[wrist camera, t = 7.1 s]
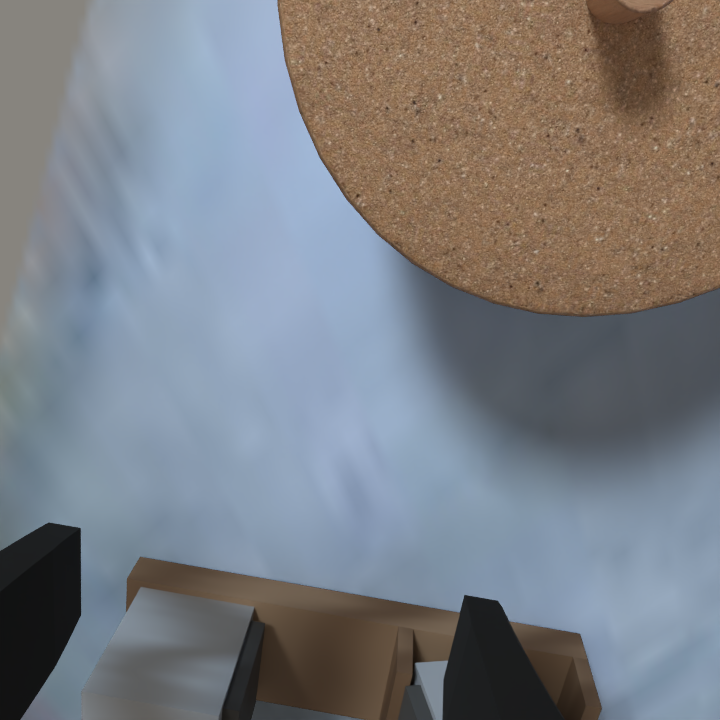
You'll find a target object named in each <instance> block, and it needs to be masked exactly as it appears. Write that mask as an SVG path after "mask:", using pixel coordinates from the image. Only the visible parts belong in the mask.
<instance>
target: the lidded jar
mask: <svg viewBox="0 0 720 720" xmlns="http://www.w3.org/2000/svg"><path fill="white" fill-rule="evenodd" d="M278 12H279V19H280V27H281V35H282V42H283V50H284V57H285V62H286V66H287V69H288V73H289V77H290V80H291V84H292V87H293V91H294V94H295V98H296V101H297V105H298V109H299V112H300V114H301V116H302V119H303V121H304V123H305V125H306V128H307V130H308V132H309V134H310V137H311V139H312V141H313V143H314V146H315V148H316V150H317V152H318V155H319V157H320V159H321V160H322V162H323V163H324V165H325V167H326V168H327V170H328V171H329V173H330V174H331V176H332V177H333V179H334V181H335V182H336V184H337V185H338V187H339V188H340V190H341V192H342V193H343V195H344V196H345V198H346V199H347V200H348V202H349V203H350V204H351V205H352V206H353V207H354V208H355V209H356V211H357V212H358V213H359V214H360V215H361V216H362V217H363V219H364V220H365V221H366V222H367V223H368V224H369V225H370V227H371V228H372V229H373V230H374V231H375V232H376V233H377V234H378V235H379V236H380V237H381V238H382V239H384V240H385V241H386V242H387V243H388V244H390V245H391V246H392V247H393V248H394V249H396V250H397V251H398V252H399V253H400V254H402V255H403V256H404V257H405V258H407V259H408V260H409V261H410V262H411V263H413V264H414V265H416V266H417V267H419V268H421V269H423V270H424V271H426V272H428V273H429V274H431V275H433V276H434V277H436V278H438V279H439V280H441V281H443V282H444V283H446V284H448V285H450V286H451V287H453V288H456V289H458V290H461V291H464V292H466V293H469V294H471V295H474V296H476V297H479V298H481V299H484V300H486V301H489V302H491V303H494V304H498V305H503V306H507V307H511V308H516V309H520V310H525V311H529V312H533V313H538V314H551V315H565V316H579V317H589V316H602V315H616V314H629V313H635V312H640V311H644V310H649V309H653V308H658V307H662V306H667V305H671V304H676V303H680V302H683V301H685V300H688V299H691V298H693V297H696V296H699V295H702V294H704V293H707V292H710V291H712V290H715V289H718V288H720V0H278Z"/></svg>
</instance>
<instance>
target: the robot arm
mask: <svg viewBox="0 0 720 720" xmlns="http://www.w3.org/2000/svg"><path fill="white" fill-rule="evenodd" d="M80 616H81V528H77V527H71V526H65V525H60V524H54V523H47V524H45V525H43V526H42V527H40V528H38V529H36V530H35V531H33V532H31V533H30V534H28V535H26V536H24V537H23V538H21V539H19V540H18V541H16V542H14V543H13V544H11V545H10V546H8V547H6V548H5V549H3V550H1V551H0V720H20V719H21V718H22V716H23V715H24V713H25V712H26V710H27V709H28V707H29V706H30V704H31V703H32V701H33V700H34V698H35V697H36V695H37V694H38V692H39V691H40V689H41V688H42V686H43V685H44V683H45V682H46V680H47V678H48V677H49V675H50V674H51V672H52V671H53V669H54V668H55V666H56V664H57V662H58V660H59V658H60V656H61V654H62V652H63V651H64V649H65V647H66V645H67V643H68V641H69V639H70V637H71V635H72V633H73V630H74V628H75V626H76V624H77V622H78V620H79V618H80ZM442 720H565V719H564V717H563V716H562V714H561V713H560V711H559V709H558V708H557V706H556V705H555V703H554V701H553V700H552V698H551V696H550V695H549V693H548V691H547V690H546V688H545V686H544V684H543V683H542V681H541V679H540V678H539V676H538V674H537V673H536V671H535V669H534V667H533V666H532V664H531V662H530V660H529V658H528V656H527V655H526V653H525V651H524V649H523V647H522V645H521V643H520V642H519V640H518V638H517V636H516V634H515V632H514V630H513V628H512V626H511V624H510V622H509V620H508V618H507V616H506V614H505V612H504V610H503V608H502V606H501V605H500V603H499V602H498V601H496V600H490V599H484V598H478V597H473V596H467V595H464V599H463V603H462V607H461V611H460V615H459V619H458V623H457V627H456V631H455V635H454V639H453V643H452V647H451V651H450V655H449V659H448V663H447V667H446V671H445V675H444V679H443V716H442Z"/></svg>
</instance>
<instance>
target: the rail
mask: <svg viewBox="0 0 720 720" xmlns="http://www.w3.org/2000/svg"><path fill="white" fill-rule="evenodd" d="M459 615H460V613H458V612H452V611H446V610H441V609H435V608H429V607H423V606H418V605H412V604H406V603H401V602H395V601H389V600H384V599H378V598H372V597H366V596H361V595H355V594H349V593H344V592H338V591H332V590H326V589H321V588H315V587H309V586H304V585H298V584H292V583H286V582H281V581H275V580H269V579H264V578H258V577H252V576H246V575H241V574H235V573H229V572H224V571H218V570H212V569H206V568H201V567H195V566H189V565H184V564H178V563H172V562H166V561H161V560H155V559H149V558H144V557H140V558H139V560H138V561H137V563H136V565H135V566H134V568H133V570H132V571H131V573H130V575H129V576H128V578H127V601H126V614H125V616H124V618H123V619H122V621H121V623H120V625H119V626H118V628H117V630H116V632H115V633H114V635H113V637H112V639H111V640H110V642H109V644H108V646H107V647H106V649H105V651H104V653H103V654H102V656H101V658H100V660H99V661H98V663H97V665H96V667H95V668H94V670H93V672H92V674H91V675H90V677H89V679H88V681H87V682H86V684H85V686H84V688H83V689H82V691H81V696H82V720H251V718H252V714H253V710H254V707H255V703H256V700H259V701H264V702H270V703H275V704H281V705H287V706H292V707H298V708H303V709H309V710H314V711H320V712H325V713H331V714H337V715H342V716H348V717H353V718H359V719H364V720H398V717H399V713H400V709H401V704H402V700H403V695H404V691H405V686H410V683H411V678H412V674H413V670H414V665H415V663H421V662H434V661H448V659H449V655H450V651H451V647H452V643H453V639H454V635H455V631H456V627H457V623H458V619H459ZM510 624H511V626H512V628H513V630H514V632H515V634H516V636H517V638H518V640H519V642H520V643H521V645H522V647H523V649H524V651H525V653H526V655H527V656H528V658H529V660H530V662H531V664H532V666H533V667H534V669H535V671H536V673H537V674H538V676H539V678H540V679H541V681H542V683H543V684H544V686H545V688H546V690H547V691H548V693H549V695H550V696H551V698H552V700H553V701H554V703H555V705H556V706H557V708H558V709H559V711H560V713H561V714H562V716H563V717H564V719H565V720H598V718H599V715H600V712H601V709H602V707H601V703H600V700H599V697H598V693H597V690H596V687H595V683H594V680H593V676H592V673H591V670H590V666H589V663H588V659H587V656H586V653H585V649H584V646H583V642H582V639H581V636H580V634H578V633H572V632H566V631H561V630H555V629H549V628H543V627H538V626H532V625H526V624H521V623H515V622H510Z"/></svg>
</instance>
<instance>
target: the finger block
mask: <svg viewBox="0 0 720 720" xmlns="http://www.w3.org/2000/svg"><path fill="white" fill-rule="evenodd" d="M447 663H448V661H434V662H421V663H415V665H414V670H413V674H412V678H411V683H410V686H405V691H404V695H403V700H402V704H401V709H400V713H399V717H398V720H442V716H443V679H444V675H445V671H446V667H447Z"/></svg>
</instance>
